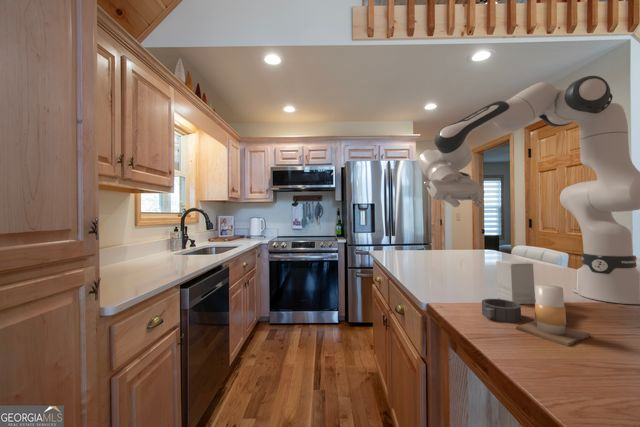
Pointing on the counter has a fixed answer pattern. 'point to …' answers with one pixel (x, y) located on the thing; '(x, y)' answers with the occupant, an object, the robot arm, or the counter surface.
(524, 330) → the walnut board
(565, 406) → the counter surface
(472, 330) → the counter surface
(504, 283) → the supplement box
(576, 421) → the counter surface
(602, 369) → the counter surface
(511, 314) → the collar
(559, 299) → the two-tone cylinder
